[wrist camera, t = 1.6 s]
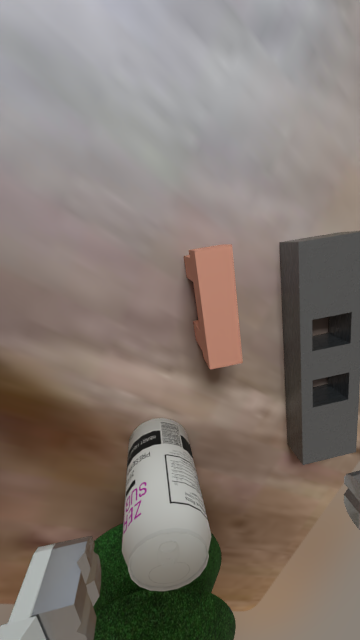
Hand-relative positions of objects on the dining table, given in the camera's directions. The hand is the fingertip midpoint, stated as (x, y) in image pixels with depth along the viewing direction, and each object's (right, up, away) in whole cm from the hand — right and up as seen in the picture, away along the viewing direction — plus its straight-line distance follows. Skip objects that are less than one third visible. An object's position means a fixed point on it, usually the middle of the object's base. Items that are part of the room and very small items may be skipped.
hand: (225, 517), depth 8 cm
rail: (+17, +2, +28) cm, 33 cm away
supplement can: (-4, -11, +29) cm, 31 cm away
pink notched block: (+2, +9, +24) cm, 26 cm away
